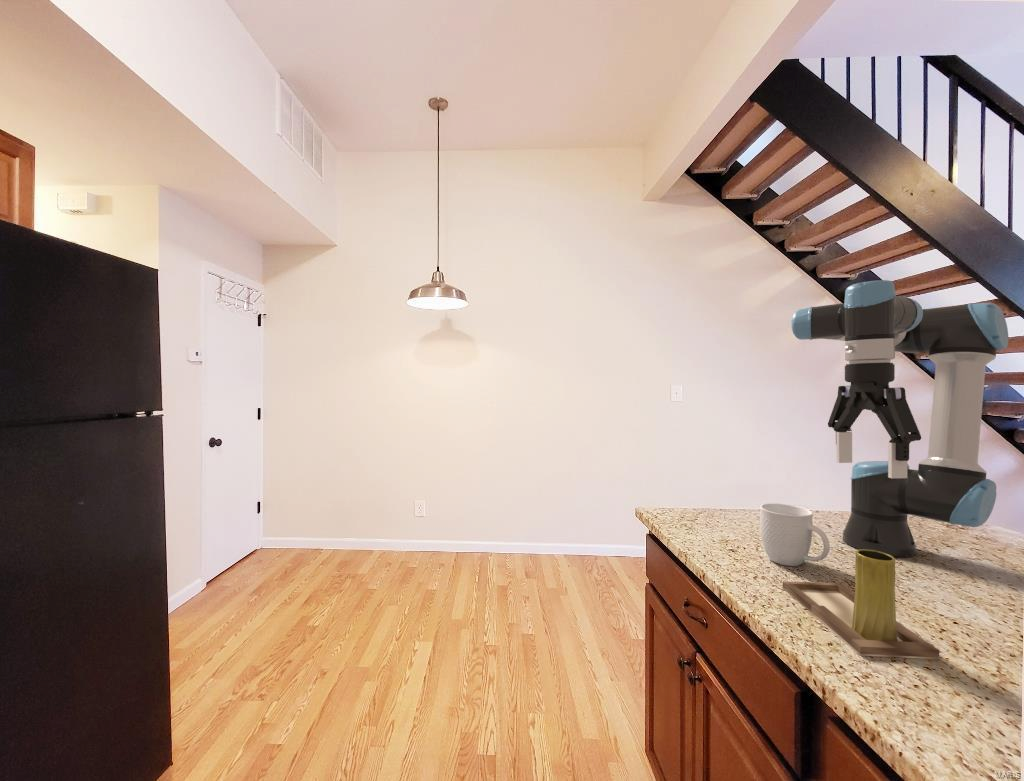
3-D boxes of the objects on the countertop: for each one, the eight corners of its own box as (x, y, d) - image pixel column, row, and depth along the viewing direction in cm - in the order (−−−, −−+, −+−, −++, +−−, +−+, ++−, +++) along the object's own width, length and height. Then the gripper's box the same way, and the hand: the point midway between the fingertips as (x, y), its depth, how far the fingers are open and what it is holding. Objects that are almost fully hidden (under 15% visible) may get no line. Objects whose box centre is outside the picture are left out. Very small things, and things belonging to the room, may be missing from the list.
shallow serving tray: (841, 590, 92) (841, 583, 92) (939, 659, 69) (939, 650, 69) (782, 588, 93) (782, 581, 93) (860, 655, 70) (860, 646, 70)
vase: (843, 625, 78) (844, 547, 78) (877, 626, 78) (879, 548, 78) (869, 646, 72) (871, 561, 72) (907, 646, 72) (909, 562, 72)
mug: (838, 569, 102) (839, 515, 102) (818, 581, 96) (819, 523, 96) (772, 549, 115) (773, 500, 114) (750, 558, 109) (751, 507, 108)
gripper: (808, 364, 97) (809, 457, 97) (902, 360, 72) (902, 486, 73) (843, 363, 96) (843, 457, 97) (950, 359, 71) (949, 485, 72)
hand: (868, 469), depth 85 cm, fingers open, 13 cm apart
